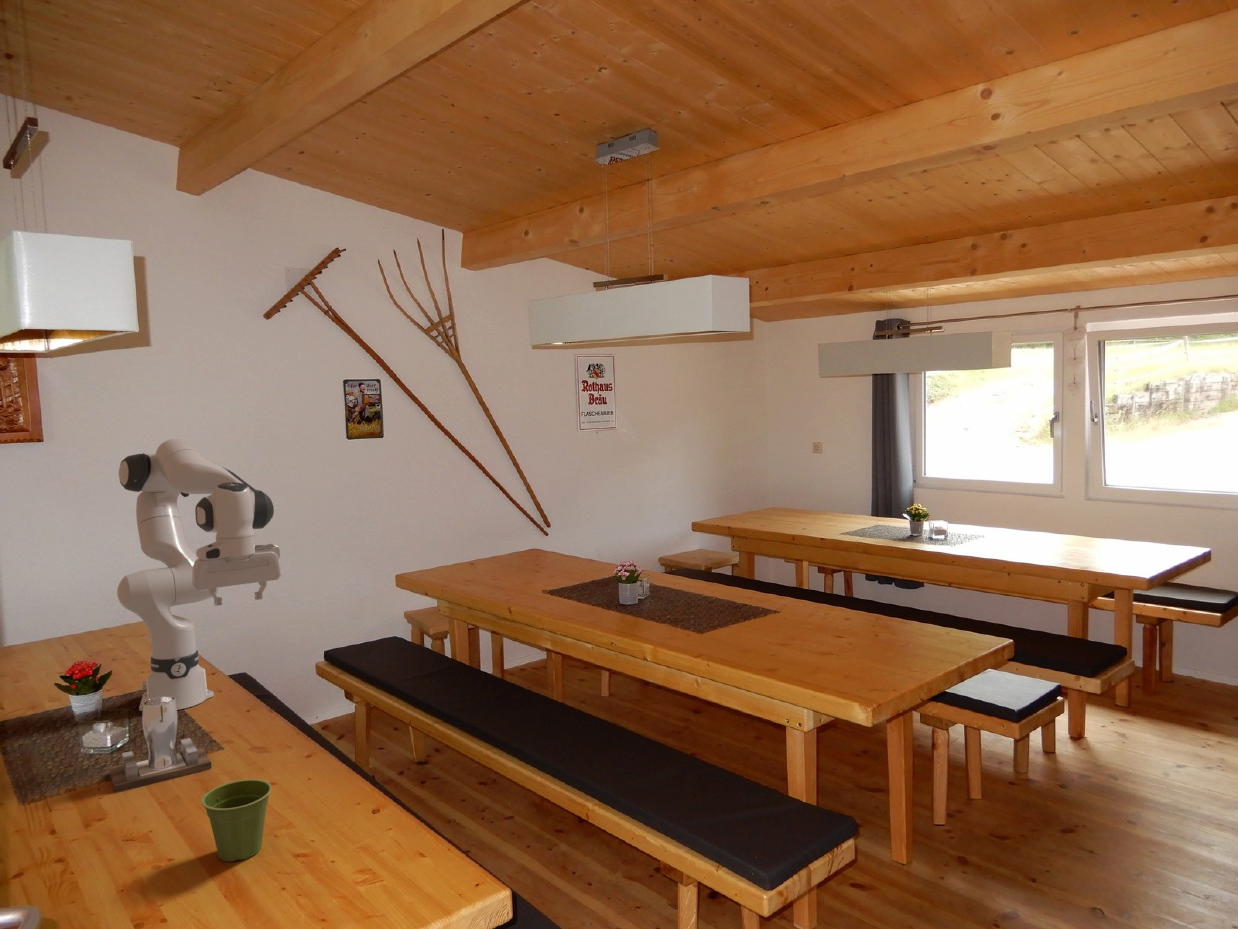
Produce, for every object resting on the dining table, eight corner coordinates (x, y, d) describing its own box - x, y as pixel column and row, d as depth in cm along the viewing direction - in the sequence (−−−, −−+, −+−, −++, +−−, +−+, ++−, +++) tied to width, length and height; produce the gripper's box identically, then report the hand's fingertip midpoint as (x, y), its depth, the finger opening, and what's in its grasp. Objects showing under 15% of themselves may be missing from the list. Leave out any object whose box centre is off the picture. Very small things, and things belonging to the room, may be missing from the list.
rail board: (109, 774, 188) (108, 754, 187) (201, 752, 199) (200, 733, 199) (115, 792, 178) (113, 772, 178) (211, 768, 189) (210, 749, 189)
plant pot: (191, 870, 147) (187, 808, 146) (226, 836, 158) (222, 779, 158) (256, 870, 146) (252, 808, 145) (286, 836, 158) (283, 778, 157)
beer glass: (165, 772, 184) (161, 706, 183) (138, 771, 185) (133, 705, 184) (187, 759, 191) (183, 696, 190) (160, 758, 192) (156, 694, 191)
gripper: (276, 541, 215) (278, 594, 216) (189, 550, 203) (192, 606, 204) (282, 544, 210) (285, 598, 211) (193, 554, 198) (196, 610, 199)
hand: (238, 602), depth 207 cm, fingers open, 8 cm apart
